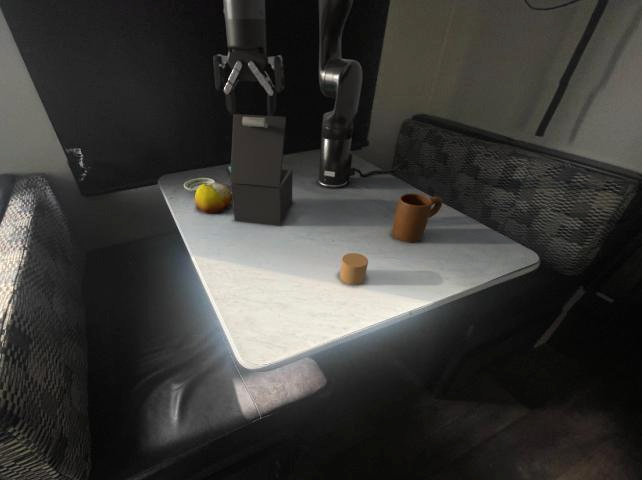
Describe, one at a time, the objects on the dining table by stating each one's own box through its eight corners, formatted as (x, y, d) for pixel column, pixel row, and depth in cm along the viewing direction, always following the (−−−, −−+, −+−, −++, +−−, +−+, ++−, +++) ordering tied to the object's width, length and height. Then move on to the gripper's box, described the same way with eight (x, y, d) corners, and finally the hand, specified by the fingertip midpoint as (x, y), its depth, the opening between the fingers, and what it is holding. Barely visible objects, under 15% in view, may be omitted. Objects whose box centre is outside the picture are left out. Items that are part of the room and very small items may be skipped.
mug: (423, 223, 88) (433, 188, 82) (443, 236, 83) (455, 200, 77) (384, 231, 85) (392, 195, 79) (403, 245, 80) (413, 208, 74)
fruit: (238, 210, 93) (227, 184, 87) (204, 225, 93) (190, 200, 87) (232, 194, 101) (221, 169, 95) (200, 207, 101) (187, 183, 95)
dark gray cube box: (251, 198, 100) (248, 165, 94) (292, 202, 98) (292, 169, 92) (234, 220, 89) (230, 184, 83) (280, 225, 87) (279, 189, 81)
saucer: (199, 182, 110) (198, 175, 108) (222, 188, 106) (221, 181, 104) (178, 192, 103) (176, 185, 102) (201, 199, 100) (200, 191, 98)
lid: (234, 115, 79) (226, 108, 74) (286, 117, 77) (281, 111, 72) (231, 183, 83) (223, 181, 78) (280, 187, 81) (275, 185, 76)
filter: (354, 267, 73) (357, 250, 70) (370, 280, 69) (373, 262, 66) (334, 274, 71) (336, 257, 68) (350, 287, 67) (352, 269, 64)
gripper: (287, 16, 63) (287, 112, 74) (216, 16, 66) (226, 109, 76) (277, 16, 58) (279, 120, 68) (201, 16, 60) (214, 116, 71)
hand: (251, 114), depth 72 cm, fingers open, 8 cm apart
